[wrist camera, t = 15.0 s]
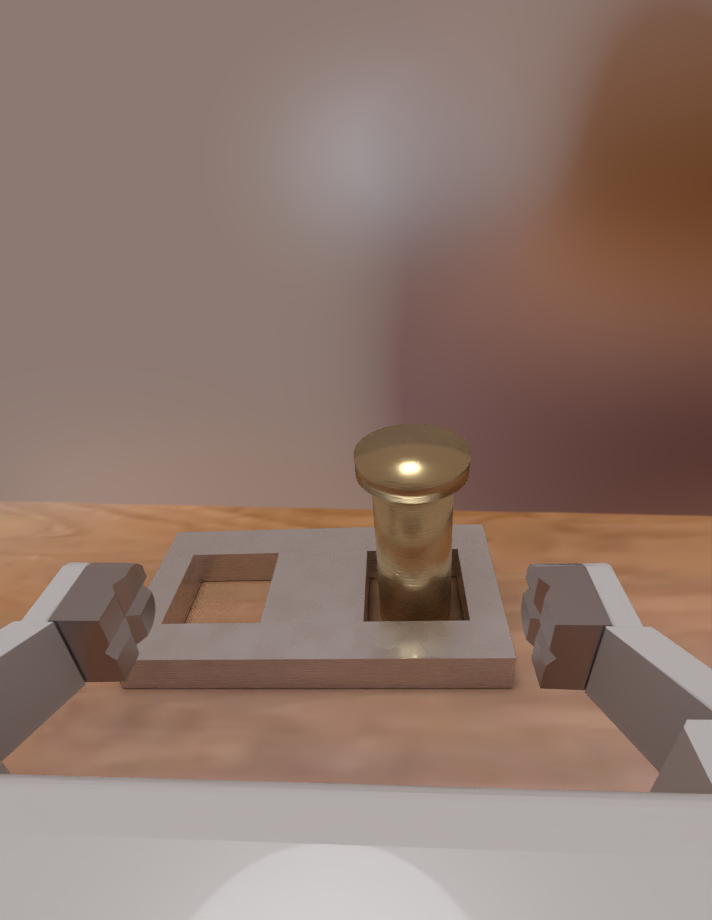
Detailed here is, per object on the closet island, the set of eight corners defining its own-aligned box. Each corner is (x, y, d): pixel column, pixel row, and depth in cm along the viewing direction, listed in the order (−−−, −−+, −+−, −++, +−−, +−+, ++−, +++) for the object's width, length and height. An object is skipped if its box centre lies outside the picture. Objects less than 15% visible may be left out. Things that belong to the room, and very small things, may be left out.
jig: (123, 688, 30) (109, 660, 28) (186, 557, 39) (178, 532, 38) (512, 688, 28) (516, 658, 26) (480, 551, 37) (482, 524, 36)
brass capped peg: (366, 651, 31) (349, 484, 24) (369, 578, 36) (357, 425, 29) (468, 650, 30) (478, 480, 24) (457, 577, 35) (463, 421, 29)
